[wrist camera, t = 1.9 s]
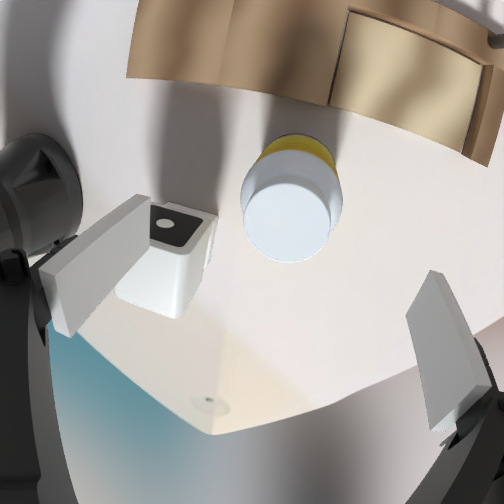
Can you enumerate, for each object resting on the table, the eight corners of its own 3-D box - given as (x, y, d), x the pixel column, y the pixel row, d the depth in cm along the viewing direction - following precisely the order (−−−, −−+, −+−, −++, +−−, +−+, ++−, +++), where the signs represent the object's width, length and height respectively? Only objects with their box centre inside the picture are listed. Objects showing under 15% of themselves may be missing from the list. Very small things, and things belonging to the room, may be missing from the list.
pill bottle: (268, 124, 25) (236, 150, 15) (343, 144, 24) (364, 183, 15) (253, 194, 28) (218, 260, 18) (323, 212, 28) (326, 288, 18)
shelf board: (137, 77, 24) (-4, 95, 11) (159, -36, 18) (40, -90, 4) (477, 161, 22) (590, 244, 8) (504, 48, 16) (628, 51, 2)
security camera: (226, 202, 29) (187, 256, 21) (213, 263, 33) (178, 328, 24) (164, 186, 29) (107, 230, 21) (158, 246, 33) (111, 302, 25)
